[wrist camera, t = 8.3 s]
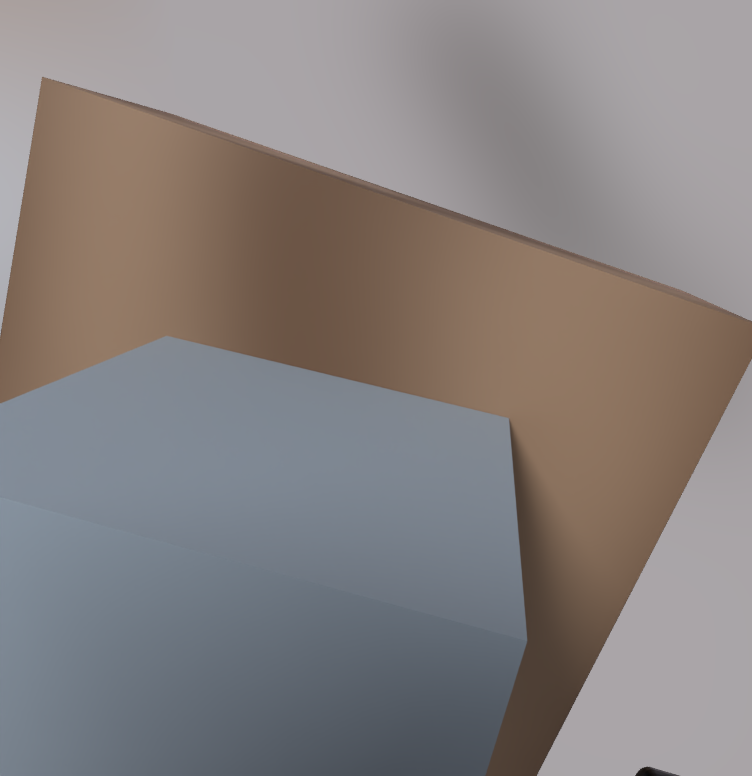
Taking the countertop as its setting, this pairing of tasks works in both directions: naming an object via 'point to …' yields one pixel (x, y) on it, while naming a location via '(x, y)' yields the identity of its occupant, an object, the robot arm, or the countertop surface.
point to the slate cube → (252, 574)
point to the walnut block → (385, 339)
